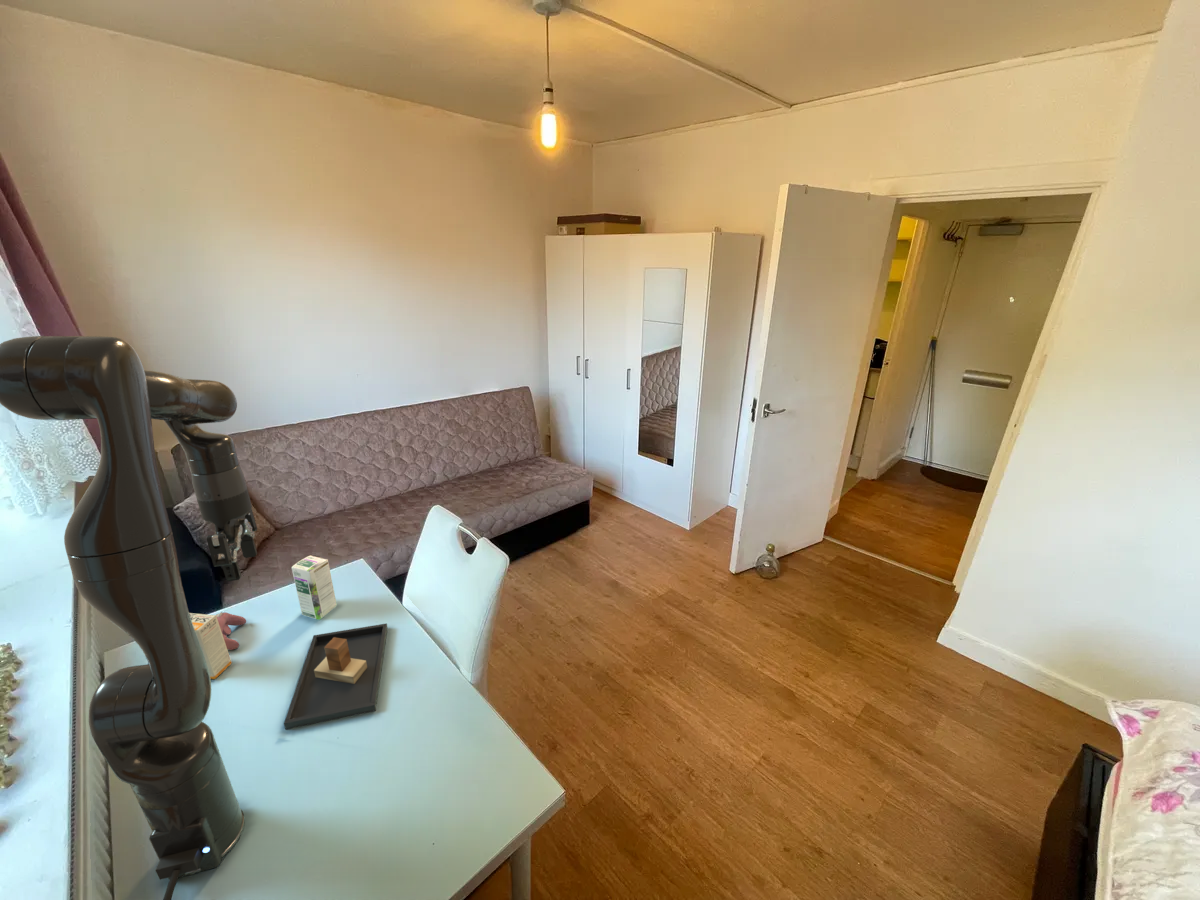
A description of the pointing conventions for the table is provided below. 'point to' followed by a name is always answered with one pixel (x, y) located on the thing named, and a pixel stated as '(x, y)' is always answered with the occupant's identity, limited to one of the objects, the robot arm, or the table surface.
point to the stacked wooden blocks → (340, 663)
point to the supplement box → (211, 643)
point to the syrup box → (314, 586)
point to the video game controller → (226, 620)
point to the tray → (334, 697)
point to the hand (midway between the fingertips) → (242, 567)
